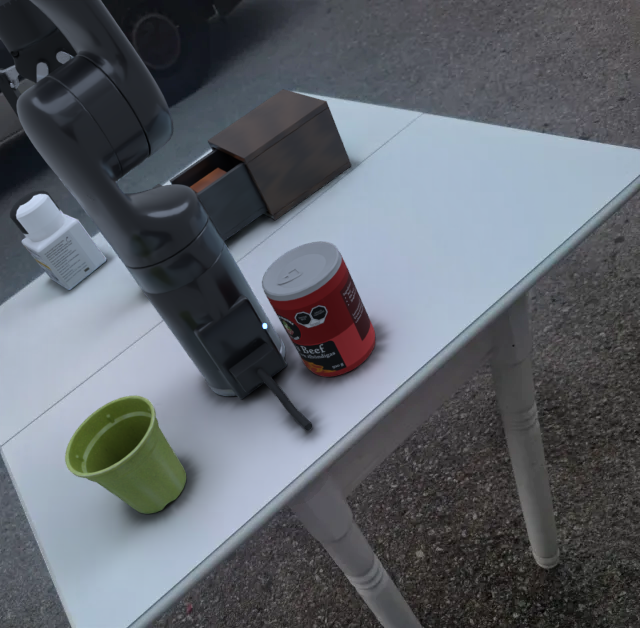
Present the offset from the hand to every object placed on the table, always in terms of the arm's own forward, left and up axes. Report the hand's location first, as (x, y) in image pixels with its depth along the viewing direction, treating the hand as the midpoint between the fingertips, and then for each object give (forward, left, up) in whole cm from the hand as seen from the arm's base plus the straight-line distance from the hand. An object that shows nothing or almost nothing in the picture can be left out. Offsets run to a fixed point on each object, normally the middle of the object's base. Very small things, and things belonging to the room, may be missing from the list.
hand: (99, 130), depth 87 cm
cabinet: (0, -20, -20) cm, 28 cm away
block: (0, -12, -16) cm, 19 cm away
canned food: (-38, -4, -20) cm, 43 cm away
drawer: (0, -7, -19) cm, 20 cm away
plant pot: (-38, +19, -20) cm, 47 cm away
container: (+18, +12, -20) cm, 30 cm away
